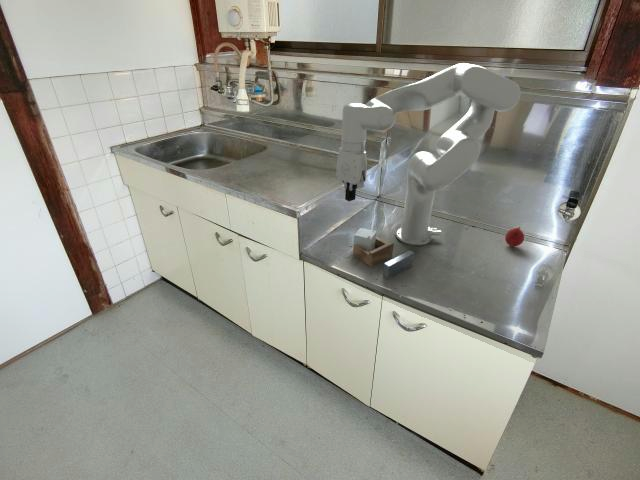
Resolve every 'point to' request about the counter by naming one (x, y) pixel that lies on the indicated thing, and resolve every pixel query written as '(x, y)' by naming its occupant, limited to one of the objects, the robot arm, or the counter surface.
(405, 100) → the robot arm
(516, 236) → the onion
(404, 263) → the backstop rail
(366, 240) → the skincare box
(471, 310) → the counter surface
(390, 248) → the caddy
